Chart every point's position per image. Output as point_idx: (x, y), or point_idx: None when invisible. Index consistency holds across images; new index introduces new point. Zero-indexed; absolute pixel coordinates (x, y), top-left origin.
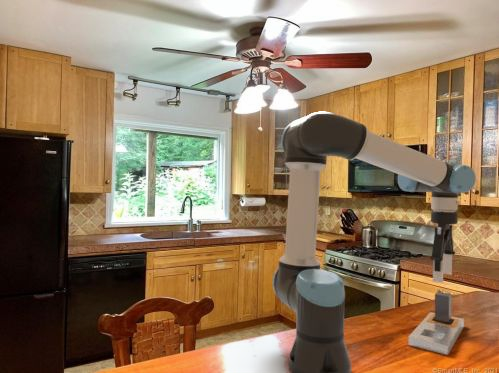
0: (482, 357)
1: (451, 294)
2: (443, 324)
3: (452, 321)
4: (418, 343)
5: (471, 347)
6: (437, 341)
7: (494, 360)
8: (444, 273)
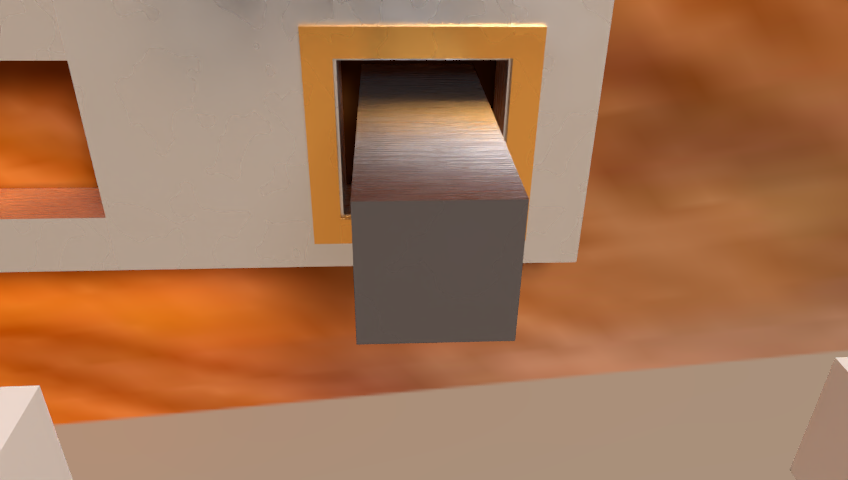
0: (87, 377)
1: (512, 335)
2: (309, 167)
3: None
4: None
5: (193, 317)
6: None
7: (99, 420)
8: (827, 393)
